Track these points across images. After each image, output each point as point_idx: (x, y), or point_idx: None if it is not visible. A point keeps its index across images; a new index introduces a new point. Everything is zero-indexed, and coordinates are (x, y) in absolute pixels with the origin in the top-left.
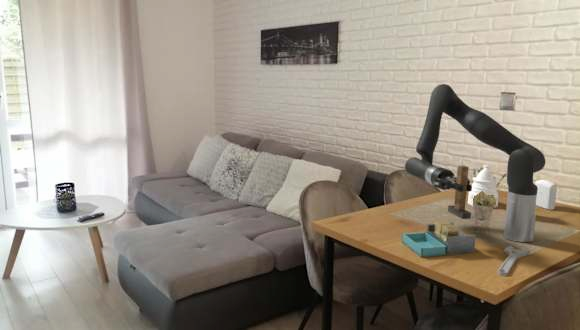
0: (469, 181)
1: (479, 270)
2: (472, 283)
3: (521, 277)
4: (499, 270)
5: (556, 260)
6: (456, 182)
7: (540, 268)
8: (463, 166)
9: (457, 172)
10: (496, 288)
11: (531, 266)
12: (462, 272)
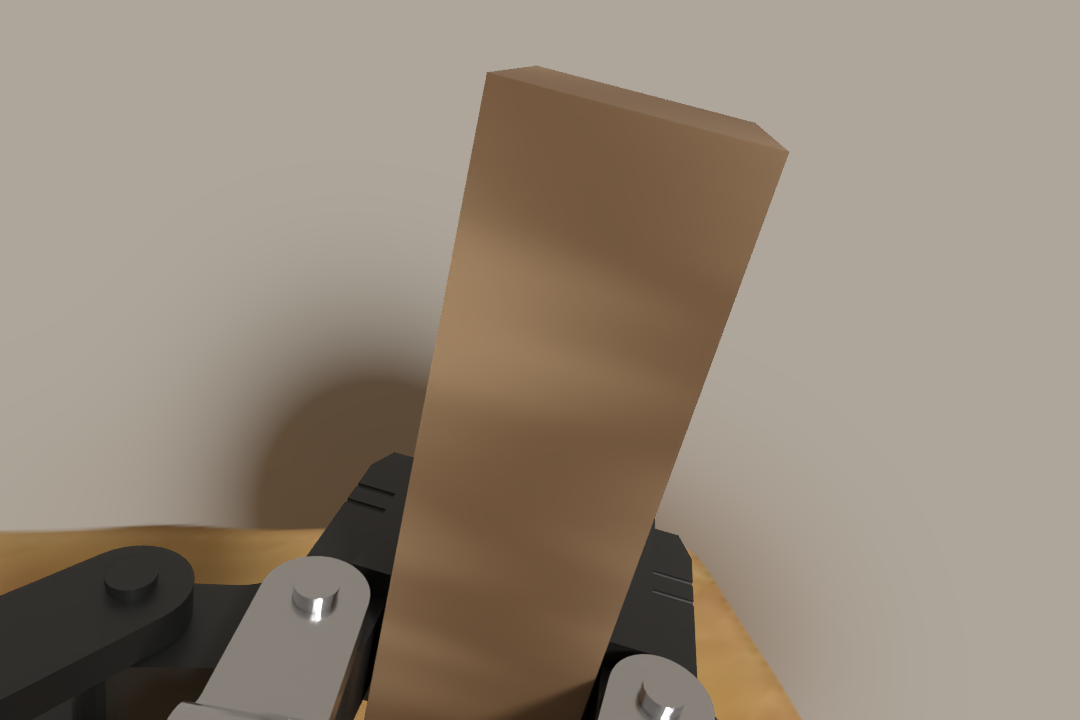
0: (118, 562)
1: None
2: (718, 615)
3: None
4: None
5: (7, 537)
6: (600, 660)
7: (240, 539)
8: (632, 99)
9: (699, 387)
10: None
11: (251, 570)
12: None
